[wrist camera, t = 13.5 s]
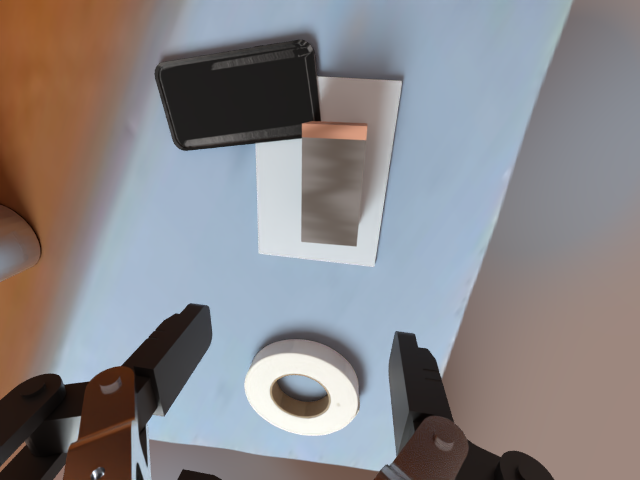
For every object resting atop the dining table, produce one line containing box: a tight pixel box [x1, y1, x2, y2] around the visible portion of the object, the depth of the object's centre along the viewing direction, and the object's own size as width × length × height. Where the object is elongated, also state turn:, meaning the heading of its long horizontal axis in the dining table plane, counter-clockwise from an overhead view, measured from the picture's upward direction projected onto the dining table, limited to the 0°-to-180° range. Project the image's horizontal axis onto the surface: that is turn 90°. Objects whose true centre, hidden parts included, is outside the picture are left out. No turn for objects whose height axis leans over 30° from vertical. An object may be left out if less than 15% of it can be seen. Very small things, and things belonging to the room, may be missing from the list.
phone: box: [155, 40, 321, 151], centre depth 28 cm, size 8×1×15 cm
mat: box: [256, 76, 402, 267], centre depth 30 cm, size 13×18×1 cm
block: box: [301, 121, 368, 247], centre depth 27 cm, size 5×5×10 cm
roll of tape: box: [245, 339, 360, 436], centre depth 41 cm, size 16×15×3 cm
